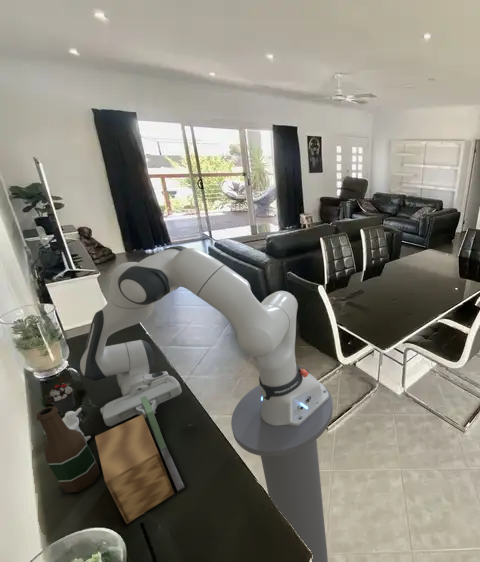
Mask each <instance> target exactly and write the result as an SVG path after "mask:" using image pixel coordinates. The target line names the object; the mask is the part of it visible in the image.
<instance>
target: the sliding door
mask: <svg viewBox="0 0 480 562" xmlns="http://www.w3.org/2000/svg"><path fill="white" fill-rule="evenodd" d="M140 399H141V402H142V404H143V407H144V410H145V412H146V415H147V420H148V423H149V425H150V429H151V431H152V433H153V434H154V435H153V437H154V436H155V437H154V439H155V438H156V439H155V441H156V440H157V442H156V444H157V443H158V444H157V446H158V445H159V446H158V448H159V447H160V449H159V451H160V450H162V449H163V448H165V447H167V445H166V443H164V442H165V440H164V438H163V435H162V432H161V429H160V426H159V423H158V421H157V418H156V415H155V414H154V412H153V410H152V407H151V405H150V403H149V401H148V399H147V397H146V396H144V397H141V398H140Z"/></svg>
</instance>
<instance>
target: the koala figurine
mask: <svg viewBox="0 0 480 562" xmlns="http://www.w3.org/2000/svg"><path fill="white" fill-rule="evenodd" d="M82 409H83V408H82V407H79V408H77V410H76V411H74V410H72V411H69V412H67V413H64V416H63V417H62V418H61V419H62V420H63V422H64V423H65V425H66V426H67V427H68V428H69V429H72V430H77V431H79V432H80V433H82V435H83V436H84V438H85V440H86V442H87V443H88V441H89V440H90V439H91V438H92V436H91V435H87V436H85V433H84V432H83V431H82V430H81V428H80V426H79V424H80V420H79V419H78V417H76V416H77V415H78V413H81V412H82ZM43 432H44V434H45V431H44V430H43Z"/></svg>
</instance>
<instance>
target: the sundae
mask: <svg viewBox="0 0 480 562" xmlns="http://www.w3.org/2000/svg"><path fill="white" fill-rule="evenodd" d="M63 379H64V377H60V378H59V381H58V383H57V384H55V385H54V387H53V388H52V389H50V392H49V395H44V397H45V403H46V404H51V405H52V407H54V406H55V407H56V408H57V409H58V413H60V414H66V413H67V412H69V411H73V410H74V408H75V407H76V400H75V396H74V393H75V391H76V388H74V387H71V386H68V385H67V384H66V383H63ZM60 382H61V385H60ZM76 417H78V419H79V421H80V420H81V419H82V418H83V417H84V414H83V413H82V412H79V413H78V415H77V416H76Z"/></svg>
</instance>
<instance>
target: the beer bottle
mask: <svg viewBox="0 0 480 562" xmlns="http://www.w3.org/2000/svg"><path fill="white" fill-rule="evenodd" d="M62 419H63V418H62V417H61V415H60V414H59V411H58V409H57V408H56V407H55V406H47V407H44V408H43V409H40V410H39V411H38V412H37V413H36V421H39V422H40V424H41V427H42V429H43V432H44V431H45V433H44V435H45V436H46V439H47V440H46V442H45V443H44V449H43V450H44V457H45V460H46V462H47V464H48V466H49V468H50V470H51V471H52V473H53V475H54V476H55V478H56V480H57V482H58V483H59V485H60V487H61V488H62V490H63V491H64V492H65V493H80V492H81V491H83V490H85V489H86V488H87V487H89V486H91V485H92V484H94V483H95V481H96V480H97V478H98V477H99V476H100V474H101V471H100V467H99V465H98V462H97V460H96V458H95V456H94V454H93V451H92V450H91V448H90V446H89V444H88V441H87V442H86V440H85V438H84V437H85V435H84V436H83V435H82V433H83V432H82V433H80V432H79V431H77V430H72V429H69V428H68V427H67V426H66V425H65V423H64V422H63V420H62Z"/></svg>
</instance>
